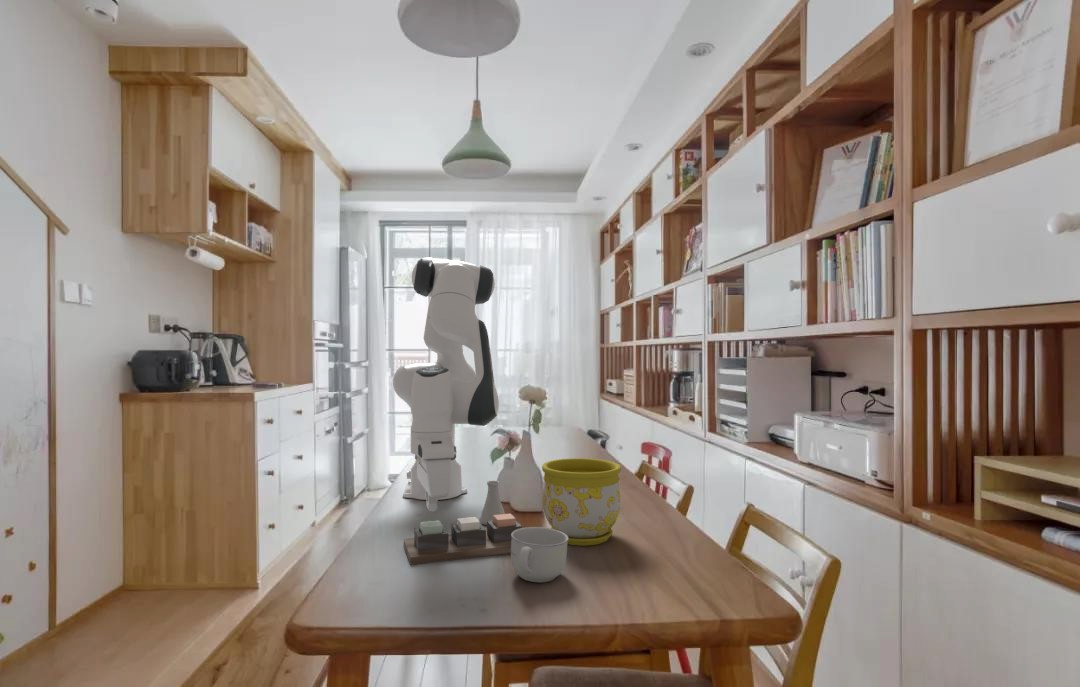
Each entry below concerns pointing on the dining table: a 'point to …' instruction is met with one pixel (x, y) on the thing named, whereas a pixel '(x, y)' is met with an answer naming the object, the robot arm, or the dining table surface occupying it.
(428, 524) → the sage button
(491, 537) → the button console
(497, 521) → the terracotta button
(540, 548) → the teacup
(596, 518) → the flowerpot
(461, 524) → the cream button
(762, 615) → the dining table surface
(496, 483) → the flask
